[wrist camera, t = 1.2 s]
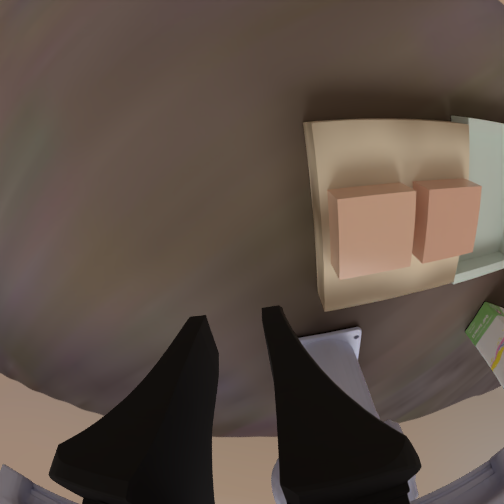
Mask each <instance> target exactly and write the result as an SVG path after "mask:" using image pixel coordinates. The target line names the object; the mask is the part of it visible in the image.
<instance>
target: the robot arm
mask: <svg viewBox="0 0 504 504" xmlns="http://www.w3.org/2000/svg"><path fill="white" fill-rule="evenodd" d="M262 322H263V327H264V333H265V338H266V343H267V349H268V354H269V360H270V365H271V370H272V375H273V380H274V387H275V401H276V415H277V432H278V449H279V458H278V460H277V462H276V464H275V465H274V468H273V471H272V478H271V479H272V480H271V481H272V491H273V495H274V499H275V502H276V504H504V448H503V449H501V450H500V451H499V452H498V453H496V454H495V455H494V456H493V457H491V459H490V460H489V461H487V462H485V463H484V464H482V465H481V466H479V467H478V468H476V469H475V470H473V471H471V472H469V473H468V474H466V475H464V476H463V477H461V478H459V479H457V480H455V481H453V482H452V483H450V484H448V485H446V486H444V487H442V488H440V489H438V490H436V491H434V492H432V493H429V494H427V495H425V496H423V497H421V498H418V499H416V498H417V497H418V491H417V486H416V482H415V478H416V475H415V474H416V473H417V472H418V471H419V470H420V468H421V463H420V459H419V457H418V455H417V453H416V451H415V449H414V447H413V446H412V444H411V442H410V441H409V439H408V438H407V436H405V435H404V434H403V432H402V430H401V427H400V425H399V424H398V423H397V422H394V421H391V420H390V419H389V420H386V421H384V422H382V421H381V420H380V418H379V415H378V413H377V412H376V410H375V407H374V404H373V401H372V398H371V395H370V392H369V390H368V387H367V384H366V381H365V379H364V376H363V373H362V371H361V368H360V365H359V363H358V355H359V349H360V341H361V334H362V330H361V328H360V327H354V328H349V329H344V330H339V331H334V332H329V333H324V334H318V335H313V336H307V337H301V338H298V337H297V336H296V334H295V333H294V331H293V330H292V328H291V326H290V324H289V322H288V320H287V319H286V316H285V314H284V312H283V308H282V307H280V306H272V307H266V308H262ZM356 335H357V336H356ZM218 377H219V353H218V350H217V347H216V344H215V341H214V338H213V335H212V333H211V330H210V327H209V324H208V321H207V318H206V315H203V316H193V317H190V318H189V319H188V320H187V322H186V323H185V324H184V326H183V327H182V329H181V330H180V332H179V333H178V335H177V336H176V338H175V339H174V340H173V342H172V343H171V345H170V346H169V347H168V349H167V350H166V352H165V353H164V354H163V356H162V357H161V358H160V360H159V361H158V362H157V364H156V365H155V366H154V367H153V369H152V370H151V371H150V372H149V374H148V375H147V376H146V377H145V378H144V379H143V381H142V382H141V383H140V384H139V385H138V386H137V387H136V388H135V389H134V390H133V391H132V392H131V393H130V394H129V395H128V396H127V397H126V398H125V399H124V400H123V401H122V402H120V403H119V404H118V405H117V406H116V407H115V408H113V409H112V410H111V411H110V412H109V413H108V414H106V415H105V416H104V417H102V418H101V419H100V420H99V421H97V422H96V423H94V424H93V425H91V426H90V427H88V428H87V429H85V430H84V431H82V432H81V433H79V434H77V435H75V436H74V437H72V438H70V439H68V440H66V441H65V442H63V443H61V444H59V445H58V448H57V450H56V454H55V456H54V459H53V462H52V465H51V468H50V471H49V476H50V478H51V479H52V480H53V481H55V482H56V483H58V484H59V485H61V486H63V487H65V488H66V489H68V490H70V491H72V492H74V493H75V494H77V495H79V496H81V497H83V498H84V499H83V502H82V504H215V502H214V490H213V478H212V477H213V475H212V426H213V417H214V409H215V401H216V394H217V386H218ZM0 504H78V503H75V502H73V501H70V500H68V499H66V498H64V497H61V496H59V495H57V494H55V493H52V492H50V491H48V490H46V489H44V488H42V487H40V486H38V485H36V484H35V483H33V482H32V481H30V480H29V479H27V478H26V477H24V476H23V475H21V474H19V473H18V472H16V471H14V470H13V469H11V468H10V467H8V466H6V465H2V468H1V471H0Z"/></svg>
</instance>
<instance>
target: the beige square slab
mask: <svg viewBox="0 0 504 504" xmlns="http://www.w3.org/2000/svg"><path fill="white" fill-rule="evenodd" d="M303 128H304V136H305V143H306V151H307V160H308V168H309V178H310V187H311V198H312V209H313V221H314V234H315V249H316V266H317V288H318V295H319V297H320V300H321V303H322V306H323V308H324V311H325V312H326V311H332V310H337V309H342V308H348V307H353V306H357V305H362V304H367V303H372V302H376V301H381V300H385V299H390V298H394V297H398V296H402V295H407V294H411V293H415V292H419V291H423V290H426V289H430V288H434V287H438V286H441V285H445V284H449V283H452V282H454V278H455V274H456V269H457V265H458V260H459V256H455V257H451V258H446V259H442V260H437V261H433V262H428V263H424V264H422V263H421V262H420V261H419V260H418V259H417V258H416V257H415V256H414V255H413V254H412V256H411V264H410V267H405V268H400V269H395V270H390V271H385V272H380V273H375V274H370V275H364V276H359V277H354V278H348V279H342V280H339V278H338V276H337V275H336V273H335V271H334V269H333V267H332V265H331V250H330V227H329V209H328V195H327V190H329V189H338V188H347V187H356V186H365V185H376V184H386V183H398V182H401V183H402V184H404V185H406V186H408V187H410V188H412V189H413V181H425V180H441V179H461V178H465V179H467V180H469V124H463V123H457V122H450V121H439V120H424V119H398V118H366V119H339V120H323V121H310V122H303Z"/></svg>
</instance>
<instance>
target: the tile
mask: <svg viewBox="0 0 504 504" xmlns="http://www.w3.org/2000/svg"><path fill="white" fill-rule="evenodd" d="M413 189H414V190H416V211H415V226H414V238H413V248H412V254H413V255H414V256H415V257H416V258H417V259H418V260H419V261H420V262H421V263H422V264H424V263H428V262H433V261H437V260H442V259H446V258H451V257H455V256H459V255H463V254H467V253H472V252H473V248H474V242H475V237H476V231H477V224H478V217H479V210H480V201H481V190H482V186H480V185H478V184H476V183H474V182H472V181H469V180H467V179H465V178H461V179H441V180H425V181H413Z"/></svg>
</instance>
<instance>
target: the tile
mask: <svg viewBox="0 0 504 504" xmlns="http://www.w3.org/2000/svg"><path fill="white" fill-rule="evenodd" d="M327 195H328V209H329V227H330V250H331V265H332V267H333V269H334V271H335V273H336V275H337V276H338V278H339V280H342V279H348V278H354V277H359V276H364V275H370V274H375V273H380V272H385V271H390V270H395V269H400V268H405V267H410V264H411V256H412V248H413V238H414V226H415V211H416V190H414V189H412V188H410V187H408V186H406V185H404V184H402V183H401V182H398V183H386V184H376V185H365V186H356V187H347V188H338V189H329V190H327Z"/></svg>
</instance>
